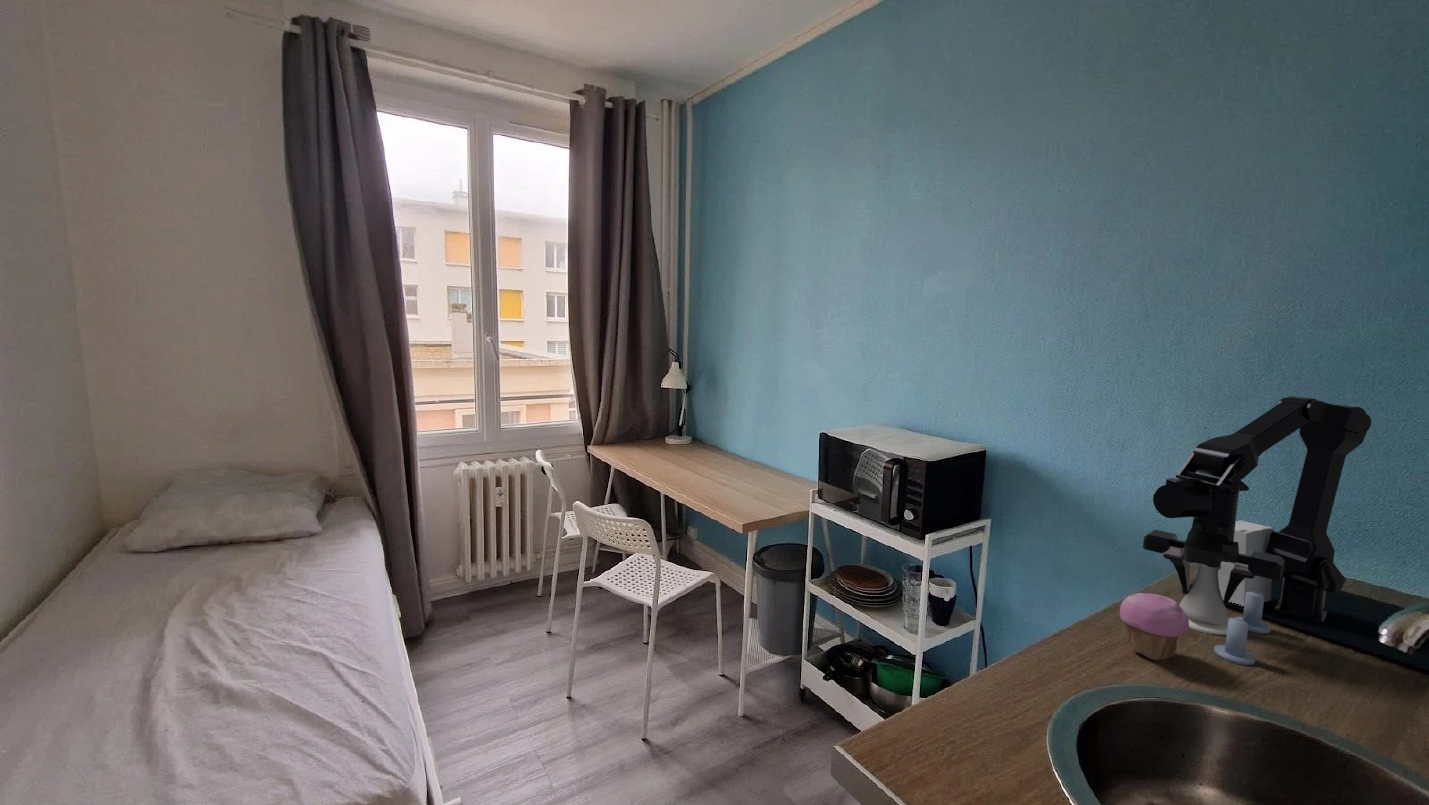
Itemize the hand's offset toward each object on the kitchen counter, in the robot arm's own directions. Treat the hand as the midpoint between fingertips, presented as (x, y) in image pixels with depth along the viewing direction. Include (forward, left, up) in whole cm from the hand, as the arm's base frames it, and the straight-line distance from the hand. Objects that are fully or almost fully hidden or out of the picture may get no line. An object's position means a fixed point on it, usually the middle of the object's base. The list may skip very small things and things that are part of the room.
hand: (1205, 598), depth 105 cm
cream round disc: (0, 0, -5) cm, 5 cm away
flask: (0, 0, -4) cm, 4 cm away
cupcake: (+21, -3, -5) cm, 21 cm away
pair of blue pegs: (+3, +6, -5) cm, 8 cm away
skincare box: (-17, +3, -5) cm, 18 cm away
